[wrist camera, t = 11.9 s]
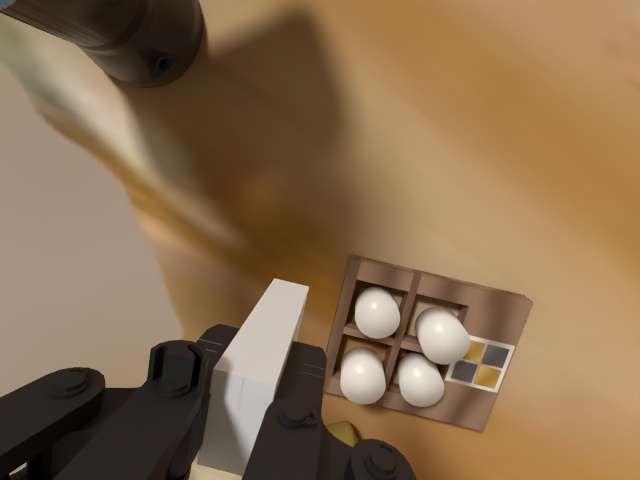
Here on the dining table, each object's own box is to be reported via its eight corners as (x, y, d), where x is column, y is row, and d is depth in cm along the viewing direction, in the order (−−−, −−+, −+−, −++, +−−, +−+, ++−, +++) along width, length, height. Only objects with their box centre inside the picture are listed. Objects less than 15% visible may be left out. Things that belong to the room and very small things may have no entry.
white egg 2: (337, 378, 47) (335, 398, 43) (346, 342, 46) (346, 359, 42) (376, 388, 47) (379, 409, 43) (387, 352, 46) (390, 370, 42)
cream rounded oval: (391, 381, 49) (395, 400, 45) (402, 347, 48) (406, 364, 44) (429, 391, 49) (437, 411, 45) (441, 357, 48) (449, 374, 44)
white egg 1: (350, 318, 48) (350, 332, 44) (360, 281, 47) (361, 292, 43) (389, 328, 48) (393, 343, 44) (400, 291, 47) (405, 303, 42)
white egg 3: (409, 340, 45) (415, 358, 41) (421, 302, 44) (428, 316, 40) (451, 351, 45) (461, 369, 41) (464, 312, 44) (476, 327, 40)
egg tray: (318, 379, 51) (317, 391, 49) (349, 254, 47) (350, 259, 44) (477, 419, 51) (483, 433, 48) (524, 295, 46) (534, 302, 43)
